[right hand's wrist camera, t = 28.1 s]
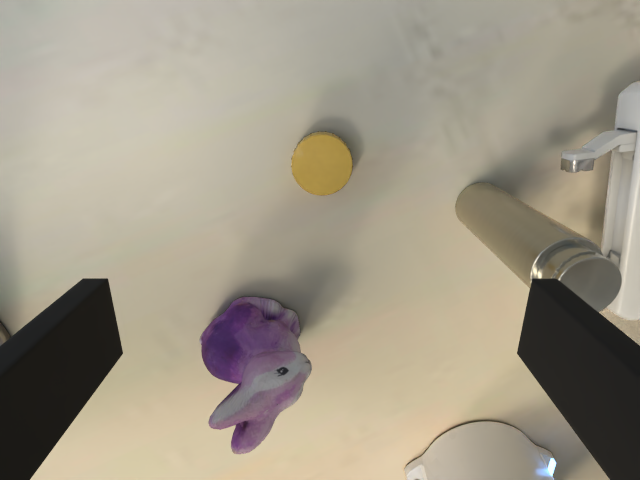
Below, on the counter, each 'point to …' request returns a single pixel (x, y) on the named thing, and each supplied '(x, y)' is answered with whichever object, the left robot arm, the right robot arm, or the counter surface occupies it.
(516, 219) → the bottle
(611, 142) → the left robot arm
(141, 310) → the counter surface
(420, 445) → the counter surface
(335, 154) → the lid
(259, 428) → the figurine
